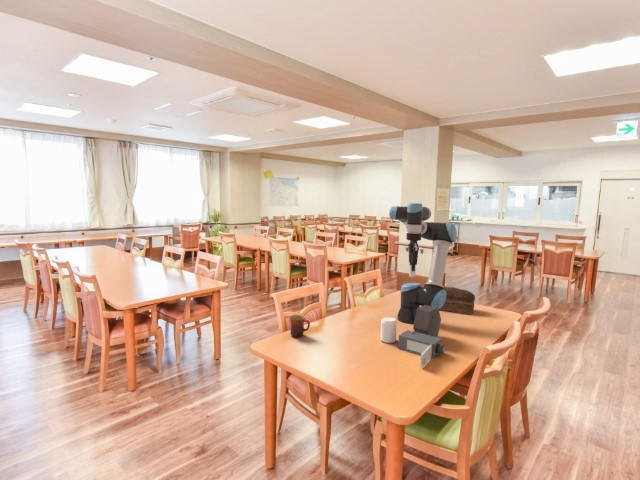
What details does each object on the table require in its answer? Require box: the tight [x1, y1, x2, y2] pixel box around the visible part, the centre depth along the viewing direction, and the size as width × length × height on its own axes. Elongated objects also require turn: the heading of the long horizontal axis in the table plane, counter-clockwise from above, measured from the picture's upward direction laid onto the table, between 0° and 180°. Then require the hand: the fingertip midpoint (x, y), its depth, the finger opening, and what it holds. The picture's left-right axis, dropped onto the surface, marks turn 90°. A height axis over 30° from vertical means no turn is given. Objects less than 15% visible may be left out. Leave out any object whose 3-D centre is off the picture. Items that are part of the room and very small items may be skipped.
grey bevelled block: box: [412, 305, 442, 338], centre depth 194 cm, size 17×8×21 cm
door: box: [419, 344, 433, 369], centre depth 164 cm, size 14×2×7 cm, turn 145°
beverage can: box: [380, 316, 397, 344], centre depth 191 cm, size 8×8×12 cm
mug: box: [288, 314, 311, 338], centre depth 197 cm, size 12×9×10 cm
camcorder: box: [397, 329, 446, 359], centre depth 178 cm, size 21×10×8 cm, turn 52°
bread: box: [439, 286, 476, 315], centre depth 249 cm, size 15×32×16 cm, turn 61°
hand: (412, 276), depth 191 cm, fingers closed
